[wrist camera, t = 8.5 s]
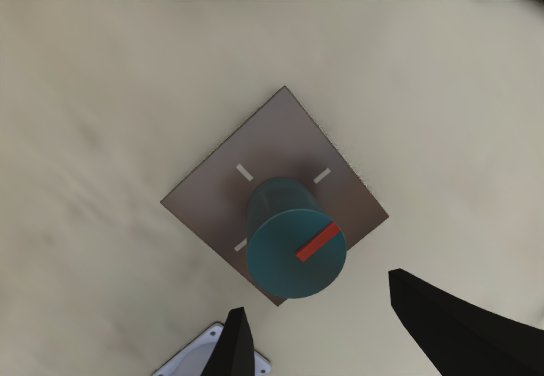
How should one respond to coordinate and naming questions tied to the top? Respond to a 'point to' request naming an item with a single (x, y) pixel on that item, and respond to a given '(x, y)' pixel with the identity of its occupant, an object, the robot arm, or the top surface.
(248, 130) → the stand
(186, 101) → the top surface
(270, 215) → the jar
